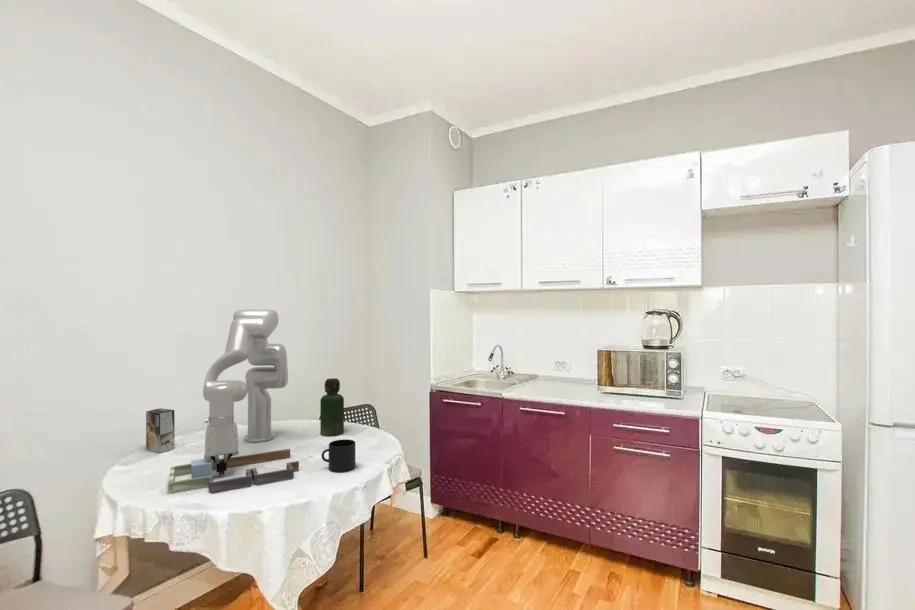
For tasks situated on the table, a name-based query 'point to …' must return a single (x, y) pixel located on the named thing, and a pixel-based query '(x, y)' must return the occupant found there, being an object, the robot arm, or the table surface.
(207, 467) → the block
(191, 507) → the table surface
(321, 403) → the green bottle
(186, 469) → the trap box
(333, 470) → the mug
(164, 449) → the coffee box
